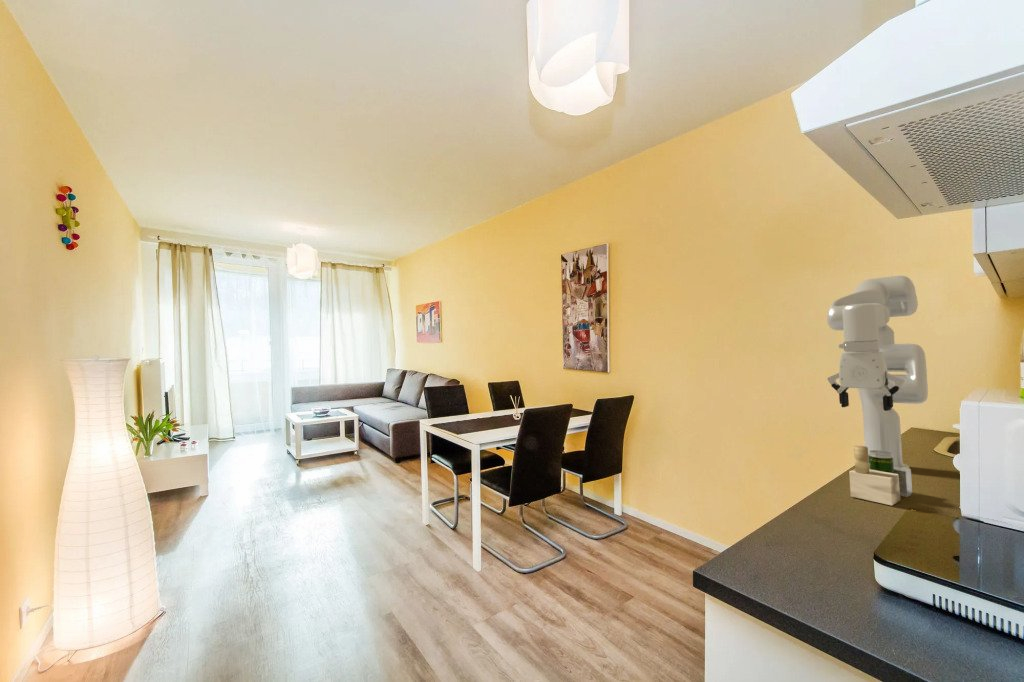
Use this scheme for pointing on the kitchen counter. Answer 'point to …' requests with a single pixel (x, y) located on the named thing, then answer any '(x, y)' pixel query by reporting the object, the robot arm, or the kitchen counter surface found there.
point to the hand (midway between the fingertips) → (865, 408)
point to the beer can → (881, 461)
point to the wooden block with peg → (872, 481)
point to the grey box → (904, 480)
